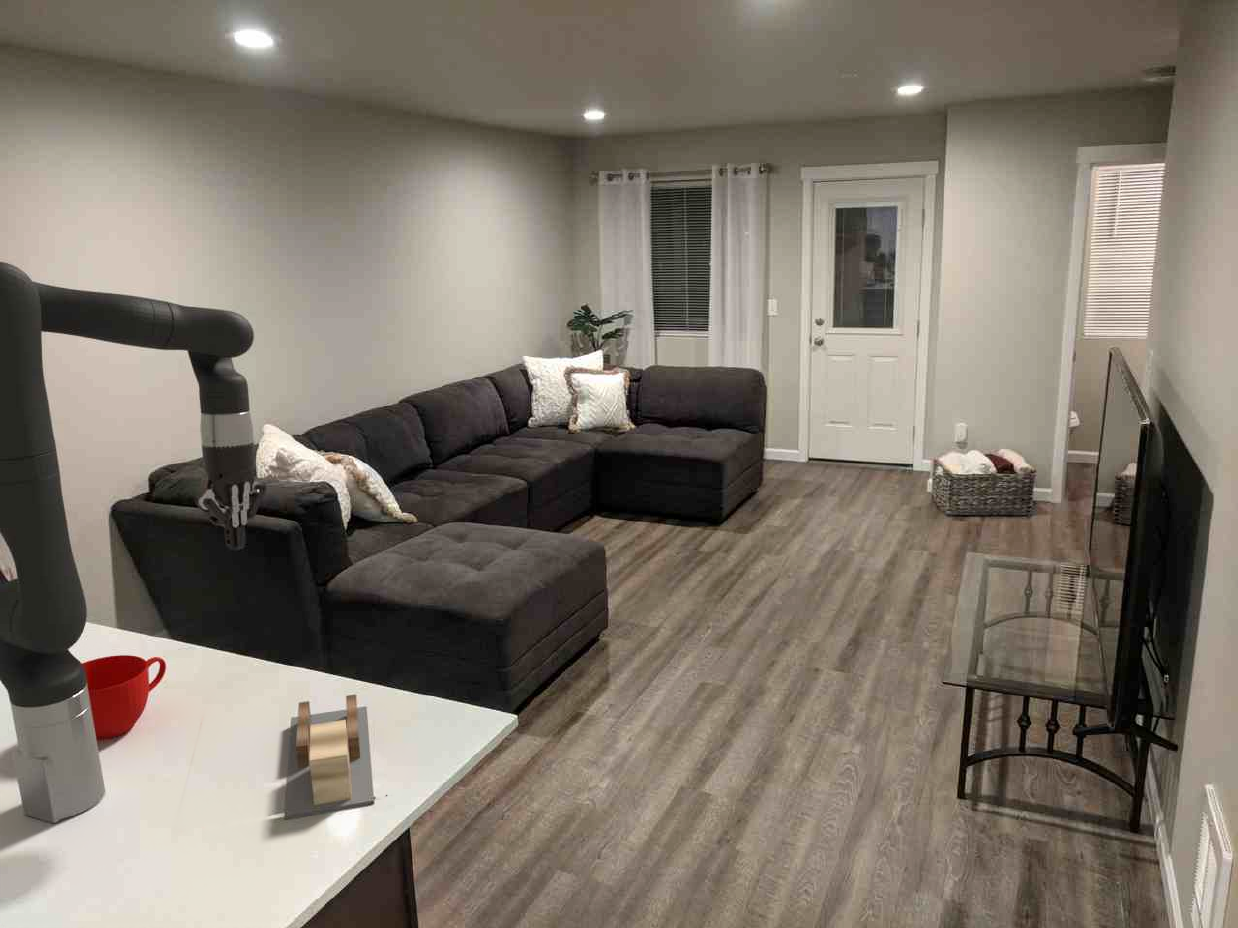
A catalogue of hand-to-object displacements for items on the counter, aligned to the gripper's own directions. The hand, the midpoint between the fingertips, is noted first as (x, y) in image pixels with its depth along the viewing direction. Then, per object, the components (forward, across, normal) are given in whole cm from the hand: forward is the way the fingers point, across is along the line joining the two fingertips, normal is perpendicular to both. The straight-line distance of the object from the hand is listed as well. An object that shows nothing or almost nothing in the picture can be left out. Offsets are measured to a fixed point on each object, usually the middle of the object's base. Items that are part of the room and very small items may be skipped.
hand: (236, 548), depth 149 cm
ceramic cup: (+30, -8, +20) cm, 37 cm away
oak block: (+30, -9, -24) cm, 40 cm away
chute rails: (+30, 0, -16) cm, 34 cm away
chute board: (+30, -4, -19) cm, 36 cm away
